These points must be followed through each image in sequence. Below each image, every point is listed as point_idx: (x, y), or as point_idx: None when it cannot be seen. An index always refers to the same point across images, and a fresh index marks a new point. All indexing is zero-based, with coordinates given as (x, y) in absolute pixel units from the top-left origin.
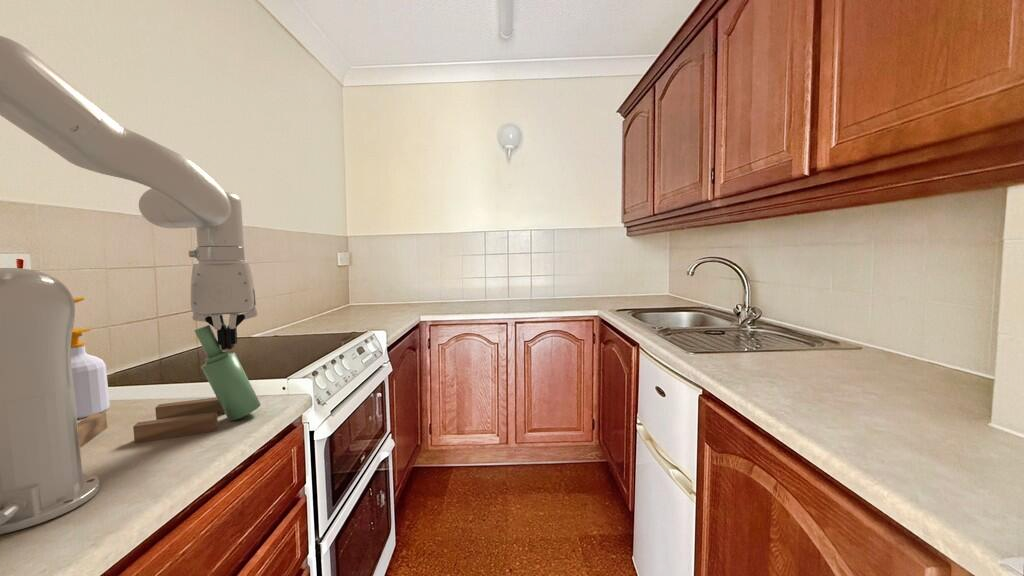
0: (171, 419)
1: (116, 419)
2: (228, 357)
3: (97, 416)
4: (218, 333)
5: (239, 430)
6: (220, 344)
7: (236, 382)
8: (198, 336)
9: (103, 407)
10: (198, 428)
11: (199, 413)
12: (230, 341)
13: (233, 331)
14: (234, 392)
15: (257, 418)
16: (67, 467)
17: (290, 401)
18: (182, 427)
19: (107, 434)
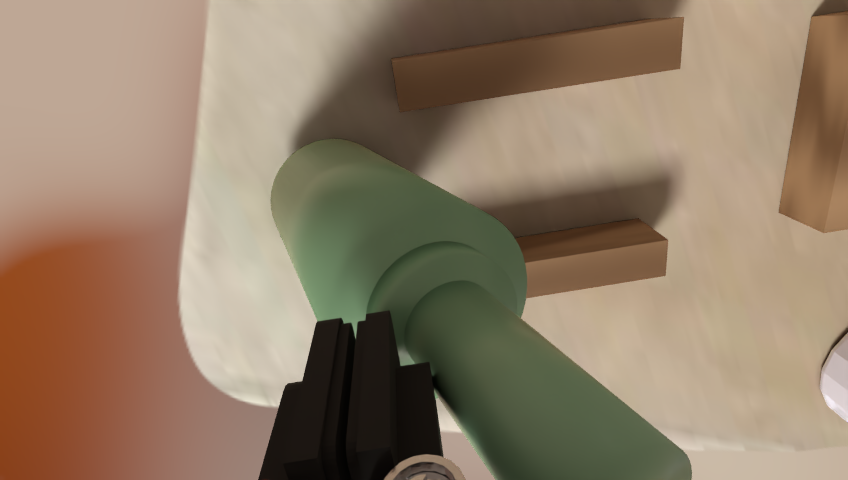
0: (558, 62)
1: (770, 280)
2: (341, 269)
3: (839, 191)
4: (426, 440)
5: (293, 35)
6: (411, 365)
7: (317, 194)
8: (611, 393)
9: (836, 365)
10: (448, 50)
11: None
12: (310, 364)
13: (272, 472)
14: (330, 166)
15: (276, 159)
16: None
17: (222, 318)
18: (504, 42)
19: (759, 142)
